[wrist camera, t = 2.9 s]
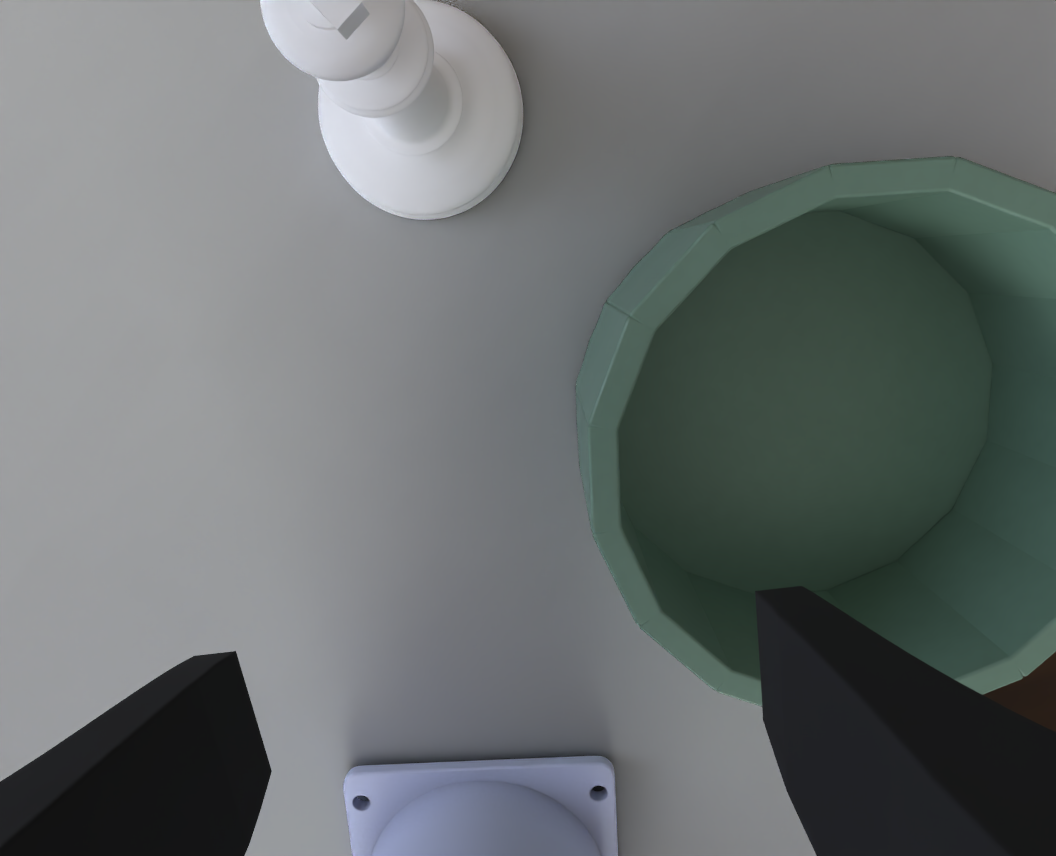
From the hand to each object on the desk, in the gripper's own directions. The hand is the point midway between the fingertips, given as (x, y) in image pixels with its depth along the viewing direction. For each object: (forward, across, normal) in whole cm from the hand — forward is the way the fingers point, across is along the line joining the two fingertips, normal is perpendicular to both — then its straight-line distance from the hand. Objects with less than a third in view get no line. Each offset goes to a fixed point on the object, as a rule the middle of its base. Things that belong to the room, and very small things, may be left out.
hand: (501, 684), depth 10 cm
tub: (+10, -7, 0) cm, 12 cm away
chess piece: (+11, +1, -9) cm, 14 cm away
